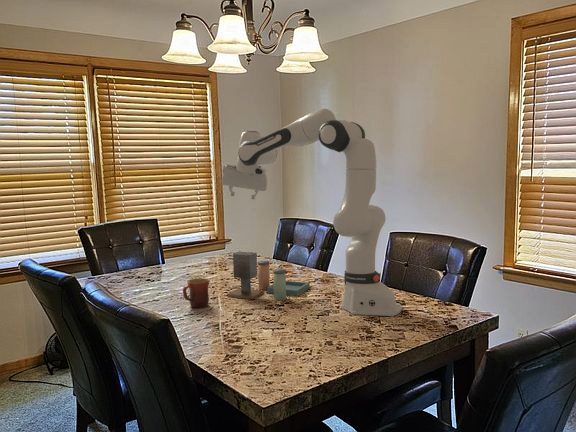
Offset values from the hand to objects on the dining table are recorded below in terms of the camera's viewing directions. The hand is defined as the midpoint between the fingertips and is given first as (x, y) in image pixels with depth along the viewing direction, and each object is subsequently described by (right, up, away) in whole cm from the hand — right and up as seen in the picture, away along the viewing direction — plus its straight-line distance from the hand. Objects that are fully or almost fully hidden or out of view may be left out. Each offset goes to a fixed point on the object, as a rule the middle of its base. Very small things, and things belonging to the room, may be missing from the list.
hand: (242, 197), depth 216 cm
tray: (+21, -41, -5) cm, 46 cm away
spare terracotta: (+10, -41, 0) cm, 42 cm away
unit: (+3, -42, -11) cm, 43 cm away
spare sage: (+17, -42, -18) cm, 49 cm away
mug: (-16, -44, -27) cm, 54 cm away
